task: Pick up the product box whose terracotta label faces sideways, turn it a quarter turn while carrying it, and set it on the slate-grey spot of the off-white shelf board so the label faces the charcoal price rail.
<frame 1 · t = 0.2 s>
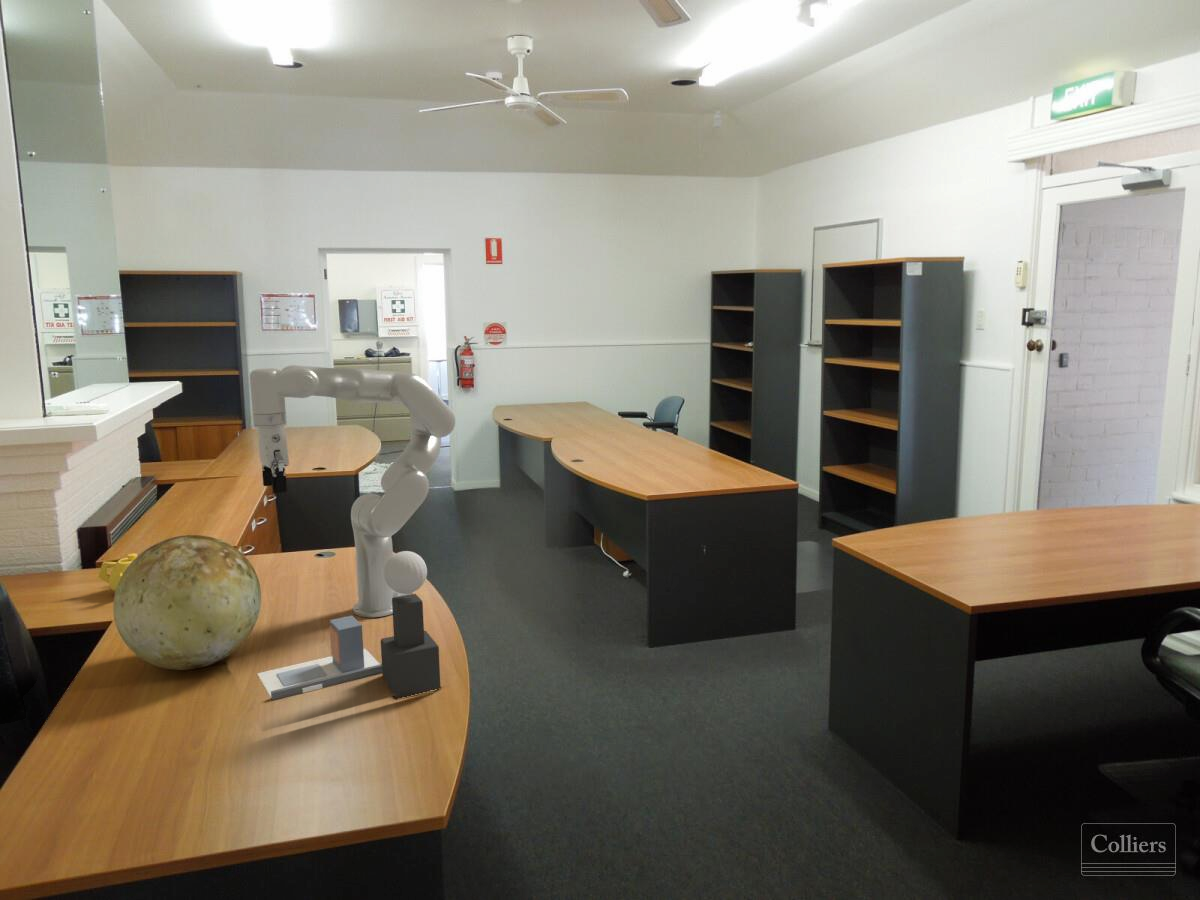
hand: (275, 488, 206), 36 cm above the table, tool pointing down, fingers open, 9 cm apart
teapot: (135, 592, 242), on the table
speckled stone ball: (196, 664, 193), on the table
product box: (337, 667, 187), point 1 cm above the table, touching shelf board
sculpture: (411, 687, 181), on the table
shelf board: (321, 677, 185), on the table
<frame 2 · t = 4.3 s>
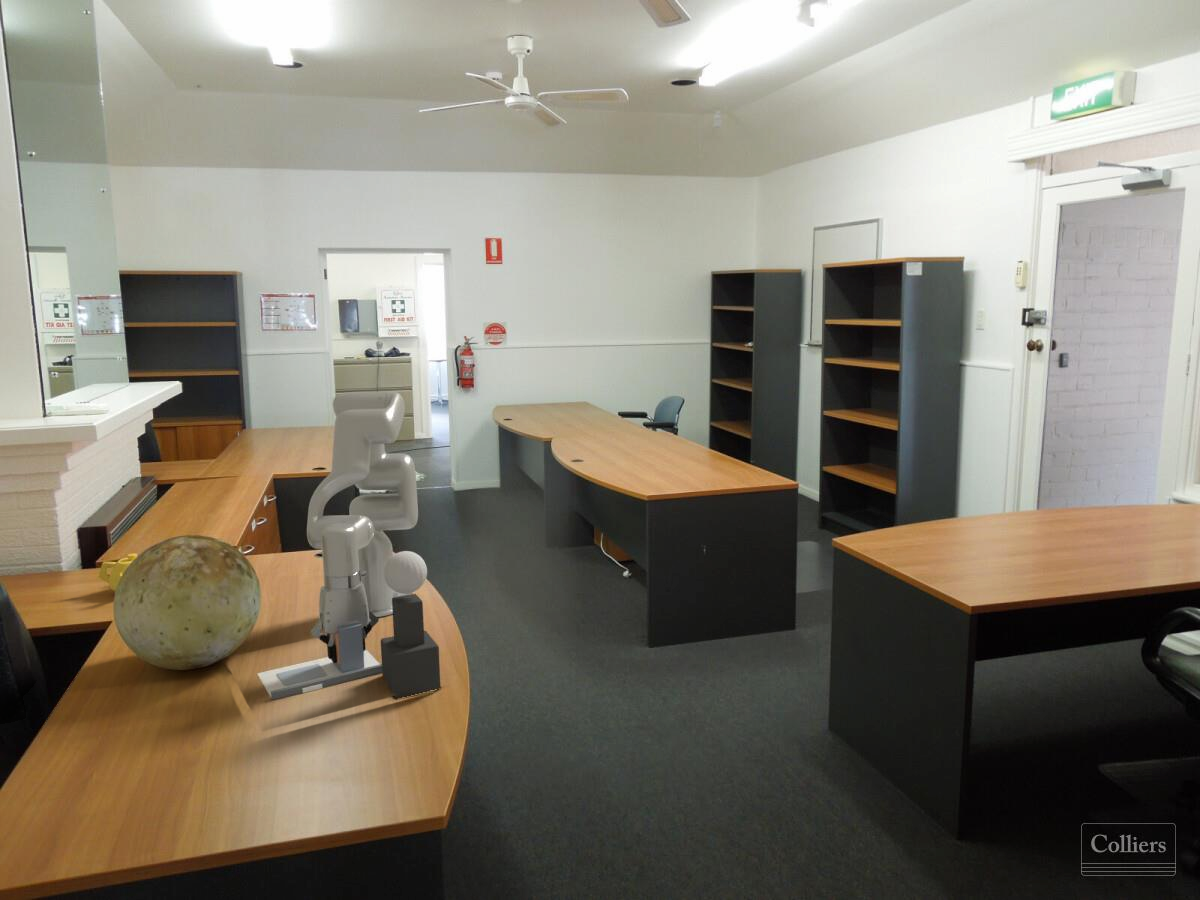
hand: (347, 656, 188), 3 cm above the table, tool pointing down, fingers closed on product box, 5 cm apart
product box: (337, 667, 187), point 1 cm above the table, touching gripper, shelf board
everything else where it was.
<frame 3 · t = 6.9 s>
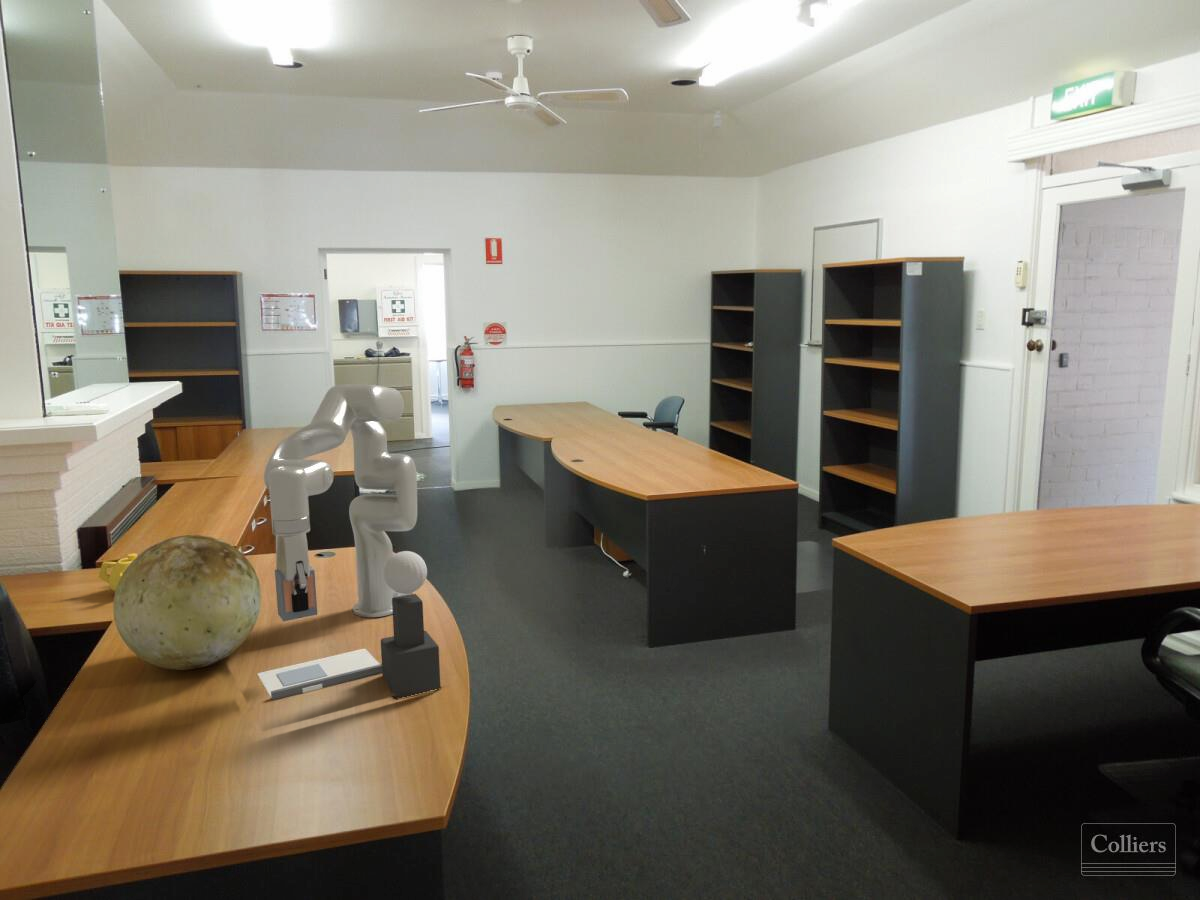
hand: (297, 605, 180), 17 cm above the table, tool pointing down, fingers closed on product box, 5 cm apart
product box: (300, 617, 179), point 15 cm above the table, touching gripper
everything else where it was.
when the fingers open (5 cm above the table, at t = 9.6 s): product box drops 1 cm, resting on shelf board.
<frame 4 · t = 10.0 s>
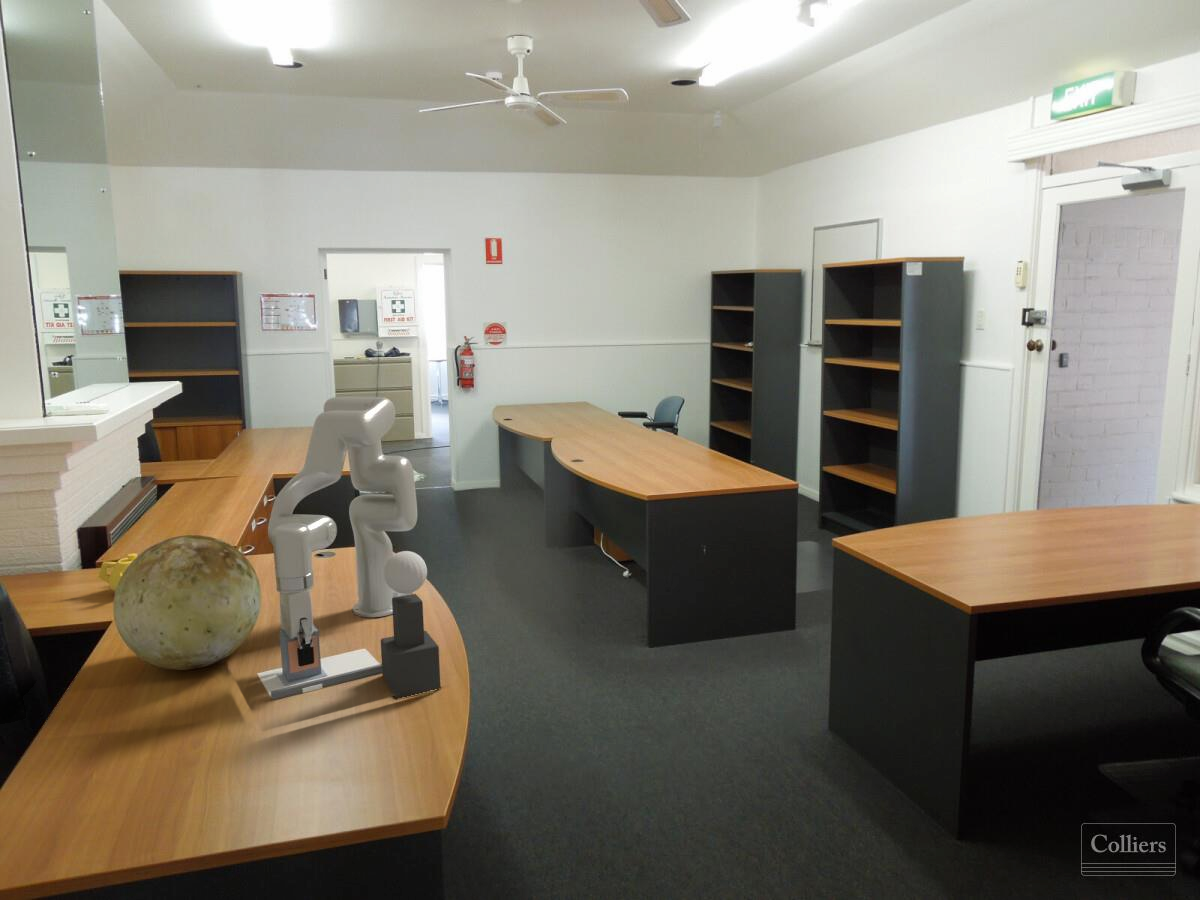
hand: (300, 656, 182), 6 cm above the table, tool pointing down, fingers open, 9 cm apart
product box: (305, 678, 181), point 2 cm above the table, touching shelf board
everything else where it was.
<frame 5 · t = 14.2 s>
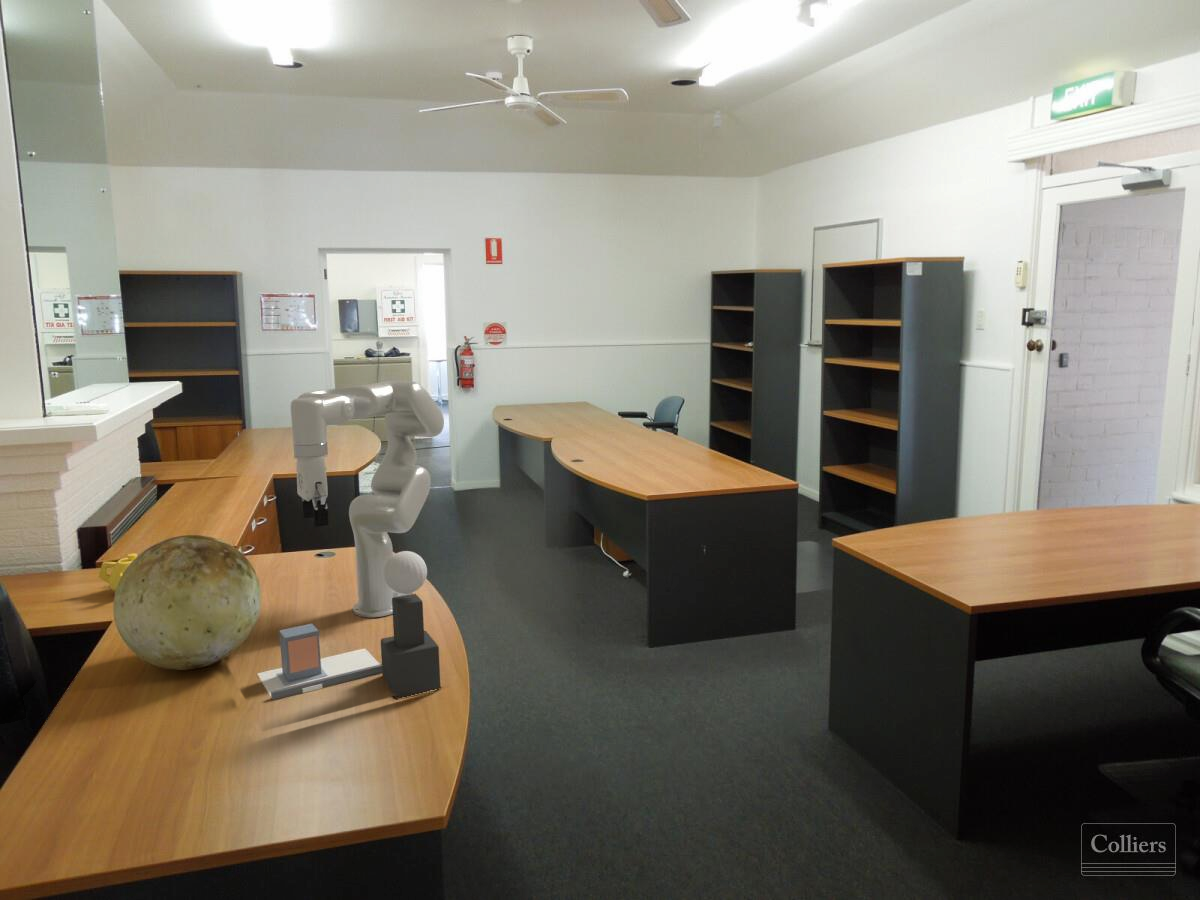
hand: (315, 521, 199), 30 cm above the table, tool pointing down, fingers open, 9 cm apart
nothing on the table moved.
at the end: product box 0.4 cm from the target spot on the shelf board, point 1.7 cm above the shelf board's base; product box tilted 0°; the gripper is holding nothing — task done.
